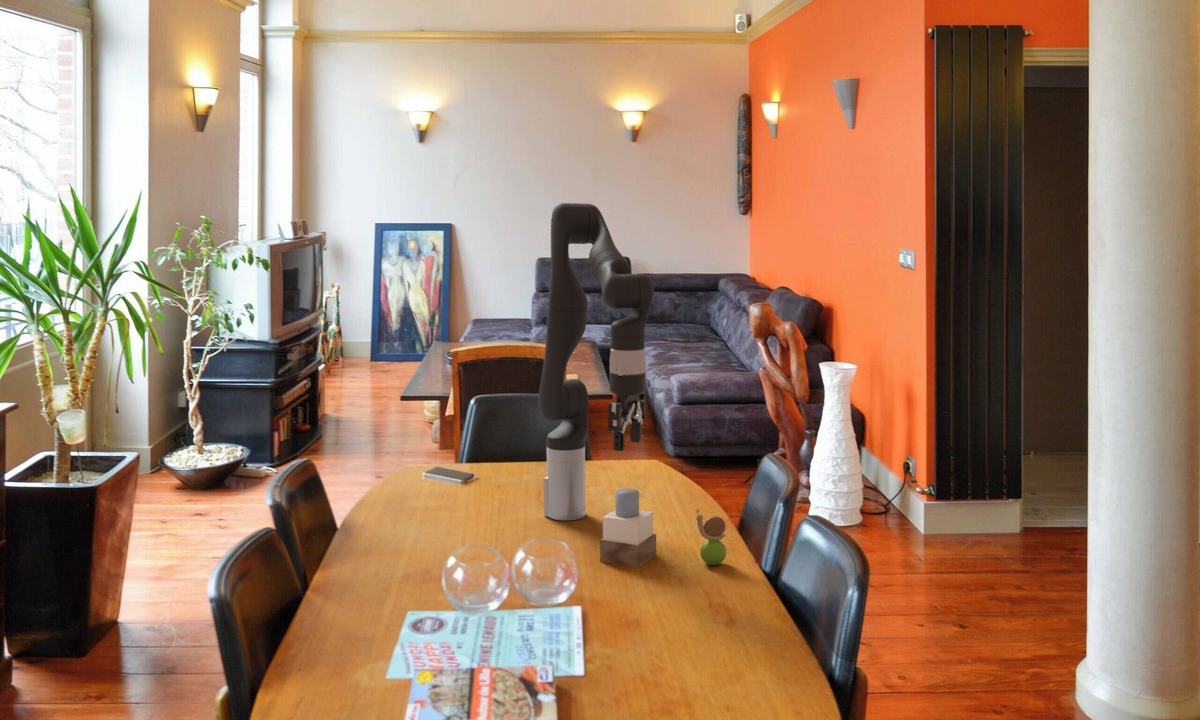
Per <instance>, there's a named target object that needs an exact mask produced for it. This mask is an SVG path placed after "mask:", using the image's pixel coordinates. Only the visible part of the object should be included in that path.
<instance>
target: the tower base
mask: <svg viewBox="0 0 1200 720" xmlns="http://www.w3.org/2000/svg"><path fill="white" fill-rule="evenodd" d="M656 556H657V533H653V535H651V536H650V537H648V538H647V539H646V540H644V541H643V542H641V543H640V544H638V545H633V544H627V543H620V542H614V541H607V540H603V537H602V538H600V539H599V561H600V562H601V563H608V564H612V565H618V566H619V565H620V566H624V567H632V568H636V569H638V568H641V567H642V566H643V565H645V564H646V563H647V562H649V561H650V560H652V559H653V558H654V557H656Z"/></svg>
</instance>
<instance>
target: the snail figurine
mask: <svg viewBox="0 0 1200 720" xmlns="http://www.w3.org/2000/svg"><path fill="white" fill-rule="evenodd" d="M695 512H696V518H695V519H696V521H697V527H698V531H699V534H700V535H701V536H702V537H703V538H704V539H705V541H704V542H703V543H702V545H701V547H700V548H699V549H700V551H699V552H700V553H699V554H700V557H701V559H702V560H703V562H704V563H705V564H707V565H709V566H716V565H719V564H721V563H722V562H723V561H724V560H725V559H726V556H727V548H726V545H725V544H724V543H723V542H722V541H721V540H722V539H724V538H725V536H726V534H725V531H726V527H727V526H726V522H725V521H724V519H723V518H722V517H720V516H710V517H708V519H706V520H705V522H703V519H704V517H703V515H702V514H699V512H700V510H699V508H698V509H697V508H696V509H695Z"/></svg>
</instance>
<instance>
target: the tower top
mask: <svg viewBox="0 0 1200 720" xmlns="http://www.w3.org/2000/svg"><path fill="white" fill-rule="evenodd" d="M653 534H654V512H653V511H651V510H650V511H649V510H642V509H639V516H637V517H633V518H622V517H618V516H616V508H614V510H612V511H610V512H609V513H607V514H605V515H604V516H602V538H603V540H607V541H614V542H620V543H627V544H633V545H638V544H640V543H641V542H643V541H644V540H646V539H647V538H648V537H650V536H651V535H653Z"/></svg>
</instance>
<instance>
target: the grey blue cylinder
mask: <svg viewBox="0 0 1200 720" xmlns="http://www.w3.org/2000/svg"><path fill="white" fill-rule="evenodd" d="M615 509H616V516H618V517H622V518H633V517H637V516H639V510H640V491H639V490H638V489H636V488H628V487H627V488H620V489H616V490H615Z"/></svg>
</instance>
